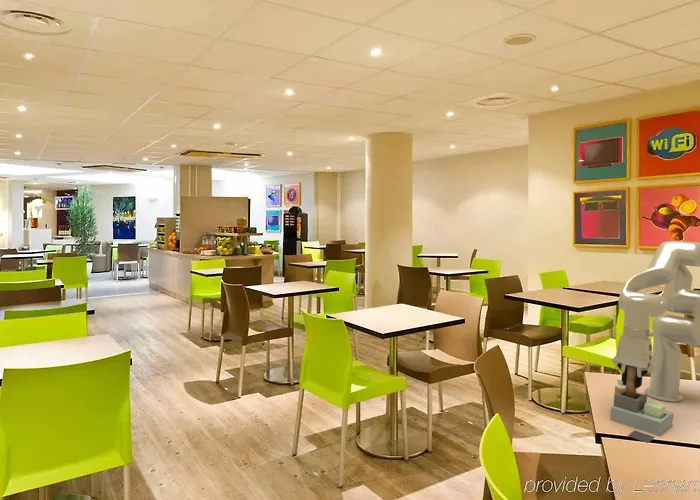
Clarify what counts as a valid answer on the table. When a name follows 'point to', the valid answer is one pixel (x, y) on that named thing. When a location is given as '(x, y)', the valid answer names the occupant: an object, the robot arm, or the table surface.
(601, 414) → the table surface
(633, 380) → the brown wooden cylinder
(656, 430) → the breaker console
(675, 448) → the table surface
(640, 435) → the pad
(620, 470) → the table surface
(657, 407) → the on button
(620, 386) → the supplement bottle
